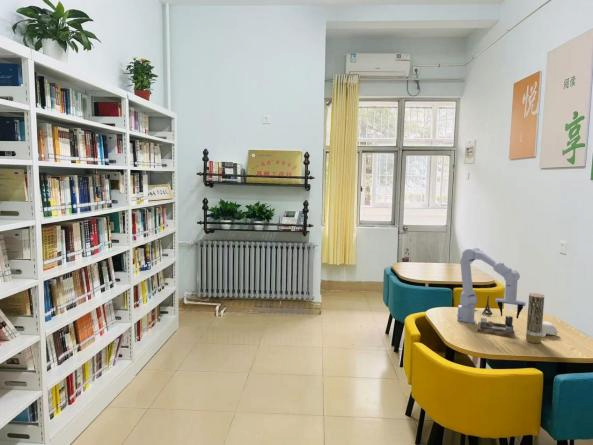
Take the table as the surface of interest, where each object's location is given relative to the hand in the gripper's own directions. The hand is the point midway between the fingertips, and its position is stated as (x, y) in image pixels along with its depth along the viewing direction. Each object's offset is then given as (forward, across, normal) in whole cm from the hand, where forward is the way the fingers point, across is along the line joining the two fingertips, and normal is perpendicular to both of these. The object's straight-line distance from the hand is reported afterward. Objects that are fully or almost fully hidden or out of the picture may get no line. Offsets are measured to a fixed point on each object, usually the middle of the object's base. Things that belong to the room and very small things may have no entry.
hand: (509, 316), depth 221 cm
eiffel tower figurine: (+10, -12, +33) cm, 36 cm away
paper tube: (+9, +11, -8) cm, 17 cm away
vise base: (+9, -7, 0) cm, 11 cm away
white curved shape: (+10, +17, +7) cm, 20 cm away
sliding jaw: (+7, 0, 0) cm, 7 cm away
